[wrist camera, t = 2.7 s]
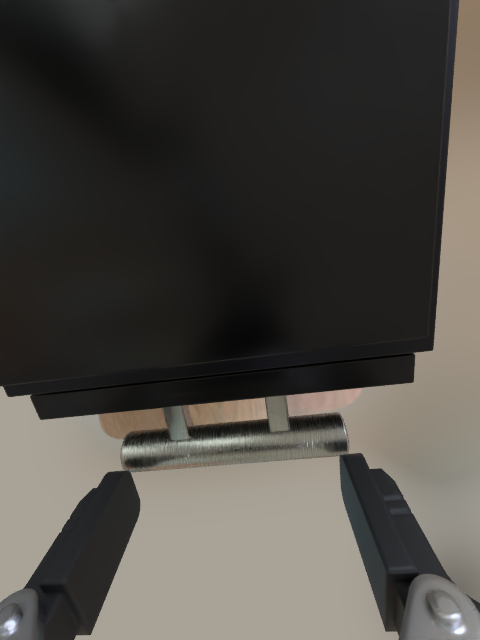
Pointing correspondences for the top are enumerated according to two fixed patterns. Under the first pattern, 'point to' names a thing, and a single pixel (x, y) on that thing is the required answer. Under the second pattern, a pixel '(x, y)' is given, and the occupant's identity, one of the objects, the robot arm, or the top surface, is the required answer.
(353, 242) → the oven
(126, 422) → the top surface
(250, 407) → the top surface
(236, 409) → the top surface
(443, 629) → the robot arm
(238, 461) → the oven door
